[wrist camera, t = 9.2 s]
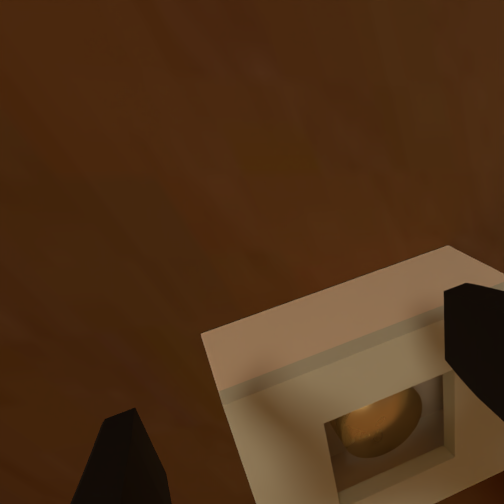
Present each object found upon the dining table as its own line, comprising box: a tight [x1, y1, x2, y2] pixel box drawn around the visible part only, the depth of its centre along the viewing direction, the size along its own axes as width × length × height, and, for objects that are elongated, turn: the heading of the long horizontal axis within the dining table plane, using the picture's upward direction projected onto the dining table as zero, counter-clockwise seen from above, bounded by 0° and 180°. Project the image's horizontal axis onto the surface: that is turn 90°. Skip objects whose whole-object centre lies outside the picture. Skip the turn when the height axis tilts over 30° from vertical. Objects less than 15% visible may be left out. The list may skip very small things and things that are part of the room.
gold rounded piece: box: [329, 387, 422, 458], centre depth 22 cm, size 4×4×3 cm
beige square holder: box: [201, 246, 504, 504], centre depth 22 cm, size 14×12×5 cm
